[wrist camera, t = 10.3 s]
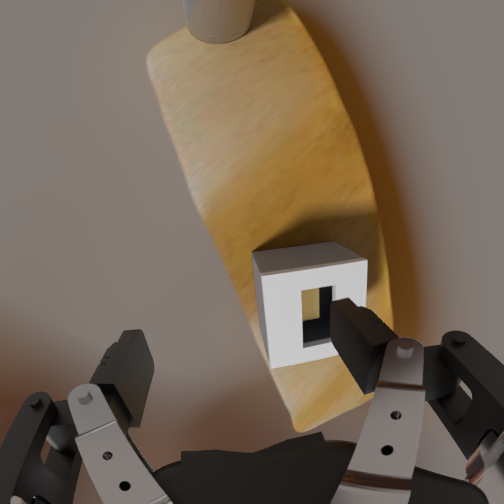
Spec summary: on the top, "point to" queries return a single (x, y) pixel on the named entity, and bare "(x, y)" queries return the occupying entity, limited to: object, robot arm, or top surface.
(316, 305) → the tan rectangular block
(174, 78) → the top surface
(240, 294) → the top surface
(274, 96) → the top surface
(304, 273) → the coin box
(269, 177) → the top surface
